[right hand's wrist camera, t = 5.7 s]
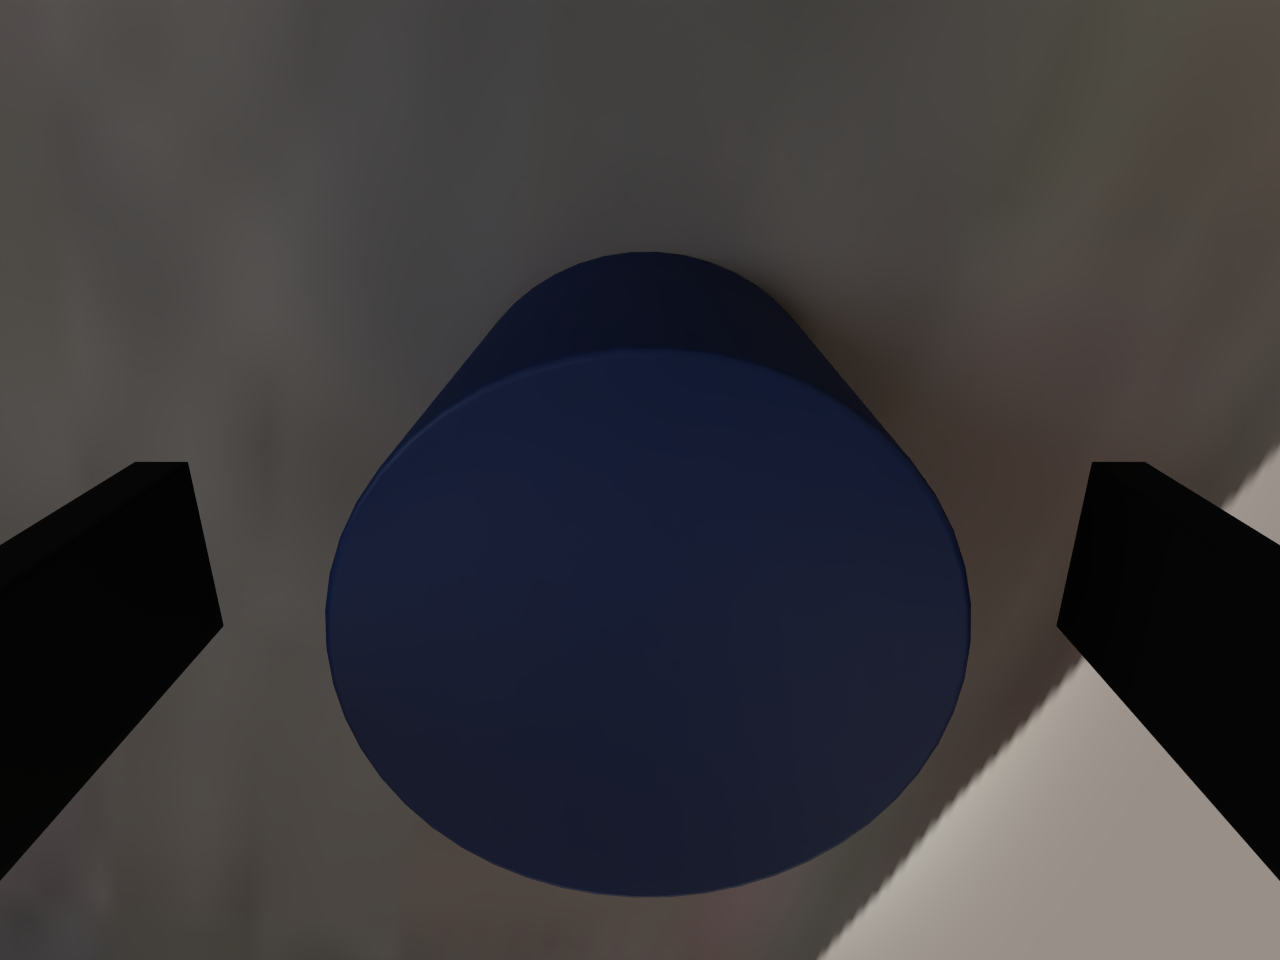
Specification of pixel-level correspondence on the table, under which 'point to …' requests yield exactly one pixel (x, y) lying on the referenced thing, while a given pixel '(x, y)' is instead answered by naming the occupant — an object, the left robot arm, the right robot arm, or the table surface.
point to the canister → (647, 593)
